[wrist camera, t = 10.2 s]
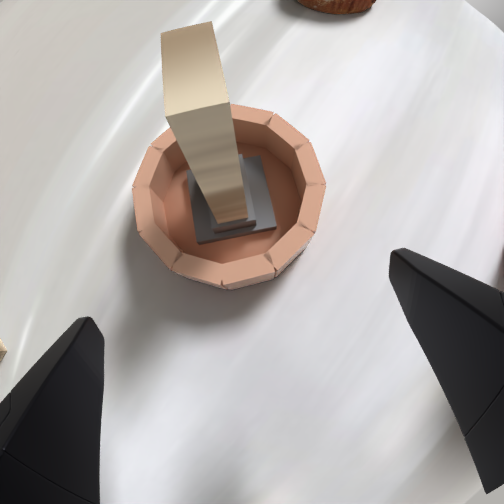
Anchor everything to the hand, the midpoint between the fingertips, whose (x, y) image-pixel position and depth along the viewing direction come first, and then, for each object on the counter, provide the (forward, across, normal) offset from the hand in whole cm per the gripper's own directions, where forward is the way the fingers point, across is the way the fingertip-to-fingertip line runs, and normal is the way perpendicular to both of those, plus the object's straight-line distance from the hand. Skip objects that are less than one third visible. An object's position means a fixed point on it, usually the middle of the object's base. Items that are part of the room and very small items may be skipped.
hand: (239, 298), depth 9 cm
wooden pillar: (+13, 0, +3) cm, 13 cm away
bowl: (+13, 0, +3) cm, 14 cm away
